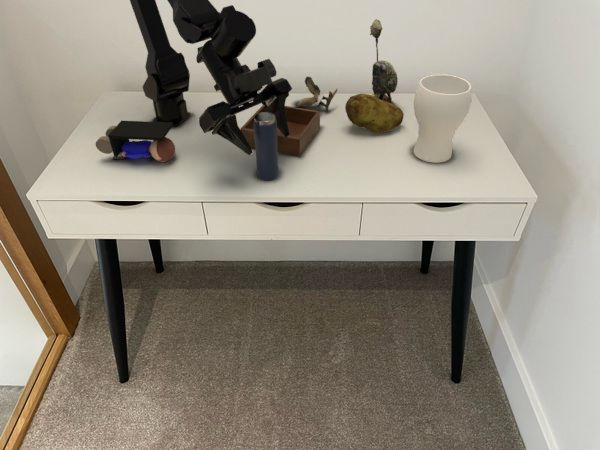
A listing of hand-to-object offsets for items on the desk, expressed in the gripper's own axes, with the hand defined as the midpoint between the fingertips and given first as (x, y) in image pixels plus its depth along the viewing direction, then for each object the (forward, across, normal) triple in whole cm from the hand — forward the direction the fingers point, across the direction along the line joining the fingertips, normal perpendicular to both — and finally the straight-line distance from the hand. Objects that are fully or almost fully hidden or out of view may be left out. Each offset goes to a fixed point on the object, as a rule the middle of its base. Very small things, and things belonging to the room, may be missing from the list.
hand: (269, 144), depth 93 cm
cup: (+17, +30, -7) cm, 35 cm away
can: (+4, 0, +6) cm, 7 cm away
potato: (+7, +29, +4) cm, 30 cm away
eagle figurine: (-6, +28, +16) cm, 32 cm away
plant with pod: (+3, +38, +8) cm, 39 cm away
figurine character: (-12, -14, +22) cm, 29 cm away
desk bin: (-2, +12, +12) cm, 17 cm away
